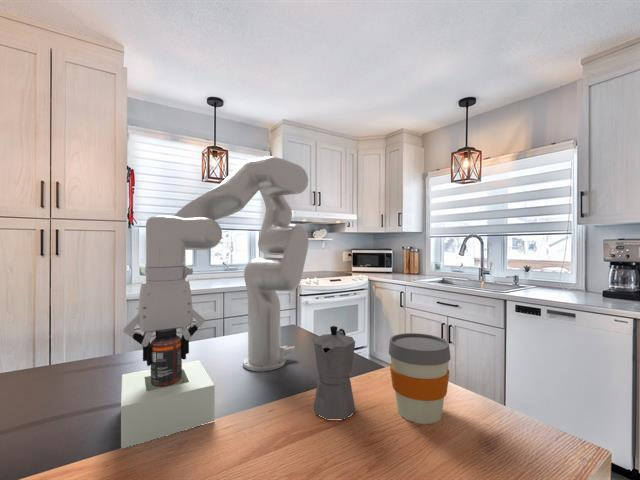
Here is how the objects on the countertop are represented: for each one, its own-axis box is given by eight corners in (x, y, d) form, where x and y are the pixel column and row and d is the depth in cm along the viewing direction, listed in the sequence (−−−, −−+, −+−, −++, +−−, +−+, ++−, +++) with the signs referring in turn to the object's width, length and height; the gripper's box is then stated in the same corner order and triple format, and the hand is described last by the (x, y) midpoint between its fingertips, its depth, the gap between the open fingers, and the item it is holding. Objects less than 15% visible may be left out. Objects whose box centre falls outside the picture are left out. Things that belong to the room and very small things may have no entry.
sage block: (199, 390, 78) (199, 360, 78) (214, 422, 64) (214, 384, 64) (122, 408, 70) (122, 374, 70) (121, 449, 56) (121, 406, 56)
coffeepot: (349, 430, 61) (348, 336, 61) (303, 422, 64) (302, 332, 64) (362, 394, 76) (362, 318, 76) (325, 388, 79) (324, 315, 79)
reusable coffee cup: (377, 404, 71) (377, 336, 71) (422, 393, 76) (421, 330, 76) (415, 435, 59) (414, 355, 60) (465, 420, 64) (464, 346, 64)
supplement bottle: (179, 373, 71) (179, 323, 71) (184, 383, 66) (184, 329, 66) (149, 380, 68) (149, 326, 68) (151, 391, 63) (152, 333, 63)
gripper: (205, 271, 75) (205, 348, 75) (118, 275, 66) (118, 363, 66) (212, 274, 68) (212, 358, 68) (117, 279, 59) (117, 376, 59)
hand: (166, 359), depth 67 cm, fingers closed on supplement bottle, 5 cm apart
